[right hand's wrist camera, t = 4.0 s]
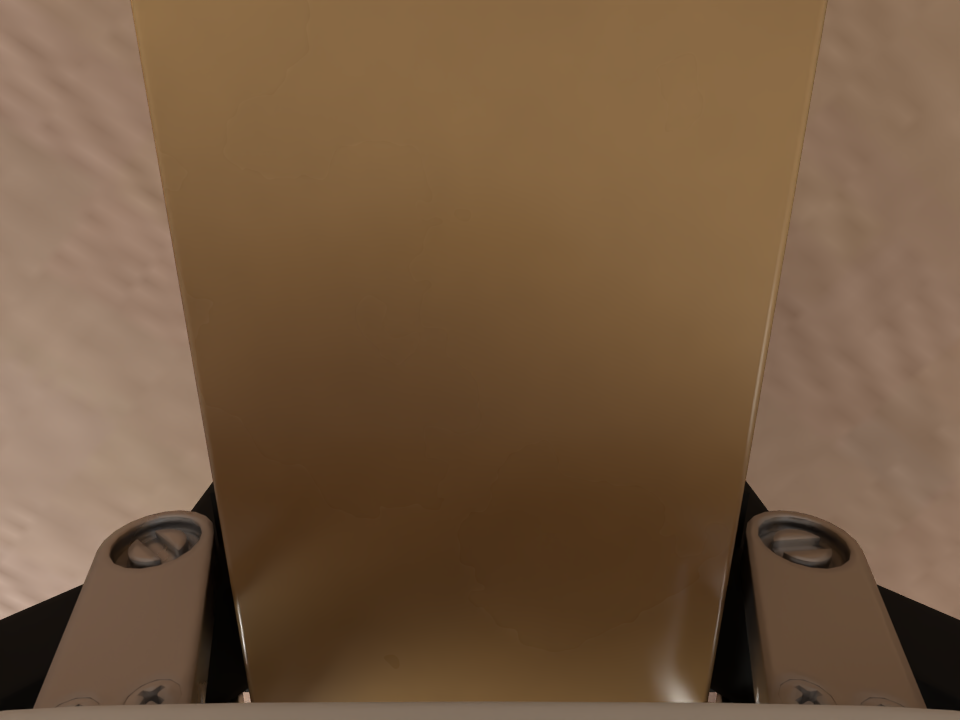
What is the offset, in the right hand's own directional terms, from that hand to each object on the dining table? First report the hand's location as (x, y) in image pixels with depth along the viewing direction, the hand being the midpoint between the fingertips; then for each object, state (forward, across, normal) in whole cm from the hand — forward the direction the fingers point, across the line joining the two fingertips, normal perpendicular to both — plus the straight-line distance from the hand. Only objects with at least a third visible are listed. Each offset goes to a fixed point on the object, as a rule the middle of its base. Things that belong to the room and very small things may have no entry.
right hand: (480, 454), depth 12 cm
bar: (+2, 0, -28) cm, 28 cm away
